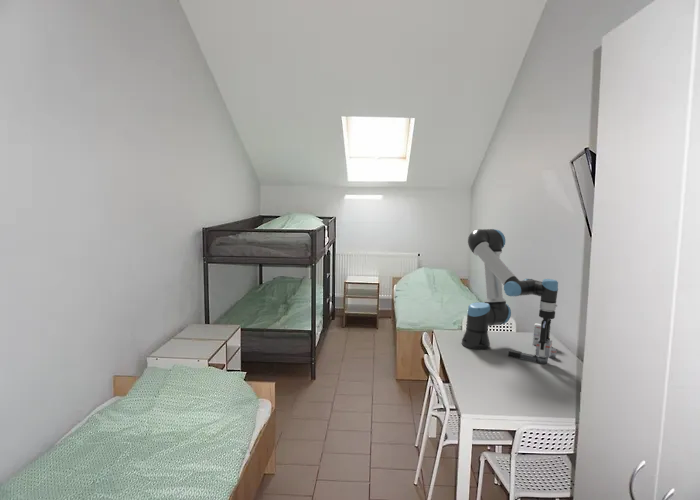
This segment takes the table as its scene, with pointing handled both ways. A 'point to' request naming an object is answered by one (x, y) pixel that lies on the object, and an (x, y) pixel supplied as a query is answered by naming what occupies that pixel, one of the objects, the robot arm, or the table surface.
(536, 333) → the ink box
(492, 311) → the robot arm
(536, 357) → the ratchet
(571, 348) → the table surface
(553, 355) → the socket small
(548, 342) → the socket
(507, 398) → the table surface
